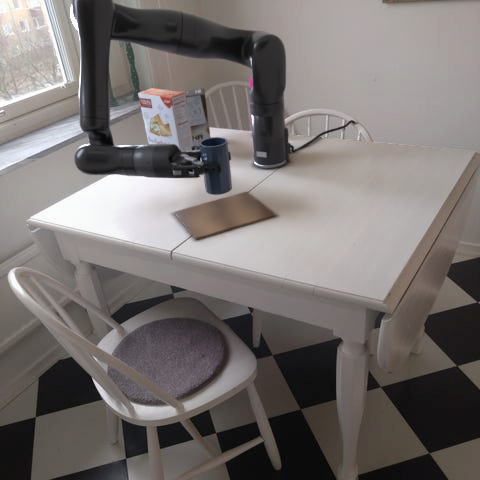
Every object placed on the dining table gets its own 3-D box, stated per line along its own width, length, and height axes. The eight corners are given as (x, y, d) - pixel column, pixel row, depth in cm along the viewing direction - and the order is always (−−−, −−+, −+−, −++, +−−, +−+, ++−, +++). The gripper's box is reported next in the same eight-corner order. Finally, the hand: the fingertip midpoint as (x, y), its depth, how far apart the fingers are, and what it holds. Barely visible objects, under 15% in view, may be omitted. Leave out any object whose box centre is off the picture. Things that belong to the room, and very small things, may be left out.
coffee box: (211, 147, 159) (205, 94, 149) (192, 149, 159) (184, 96, 149) (210, 138, 166) (204, 87, 156) (191, 140, 166) (184, 89, 156)
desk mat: (246, 193, 128) (245, 191, 128) (274, 216, 116) (274, 214, 116) (173, 213, 122) (173, 212, 122) (196, 240, 111) (195, 238, 110)
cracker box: (151, 164, 151) (136, 92, 138) (166, 158, 155) (152, 86, 142) (183, 173, 143) (170, 96, 131) (197, 165, 147) (186, 91, 134)
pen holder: (225, 181, 118) (220, 135, 112) (236, 190, 114) (231, 142, 107) (201, 188, 117) (195, 141, 110) (211, 197, 112) (205, 148, 105)
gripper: (141, 156, 107) (214, 157, 103) (166, 134, 118) (233, 134, 114) (148, 189, 112) (218, 191, 107) (171, 165, 123) (236, 166, 118)
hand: (225, 162), depth 111 cm, fingers closed on pen holder, 6 cm apart
